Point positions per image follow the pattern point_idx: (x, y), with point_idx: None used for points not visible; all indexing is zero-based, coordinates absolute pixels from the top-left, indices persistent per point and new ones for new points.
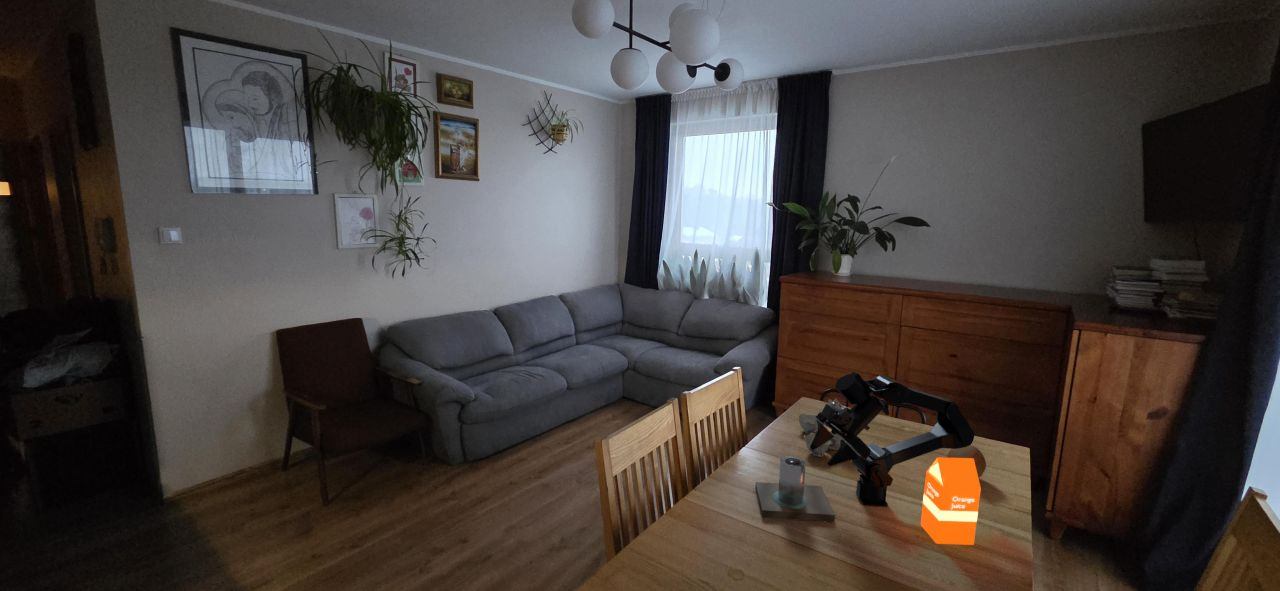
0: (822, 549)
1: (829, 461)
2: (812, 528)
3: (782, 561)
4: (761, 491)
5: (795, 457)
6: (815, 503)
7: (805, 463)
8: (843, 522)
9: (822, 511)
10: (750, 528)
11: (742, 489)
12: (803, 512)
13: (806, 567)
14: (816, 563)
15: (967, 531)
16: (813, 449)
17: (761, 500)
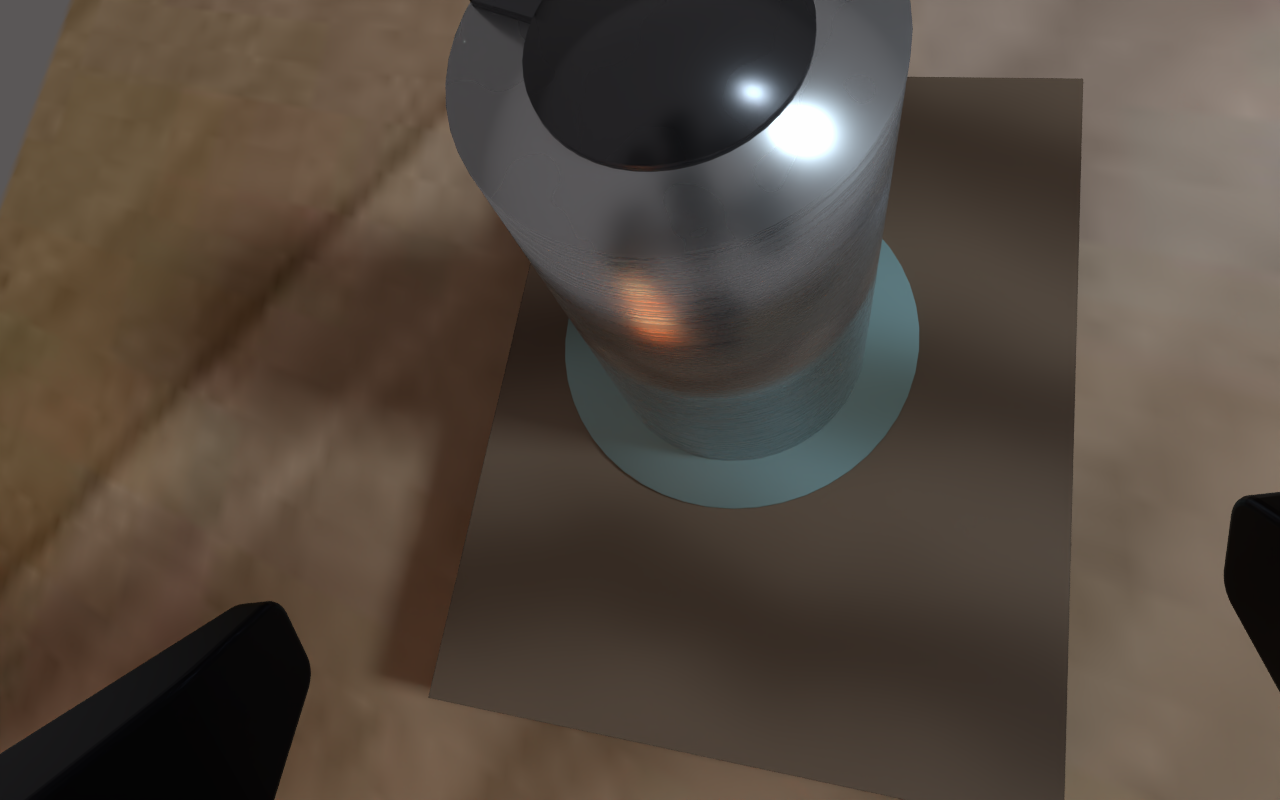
0: (178, 438)
1: (189, 644)
2: (409, 455)
3: (147, 159)
4: None
5: (858, 122)
6: (648, 575)
7: (593, 248)
8: (449, 790)
9: (501, 589)
10: None
11: (1033, 22)
12: (504, 394)
13: (67, 278)
14: (77, 348)
15: None
16: (1247, 618)
17: None
